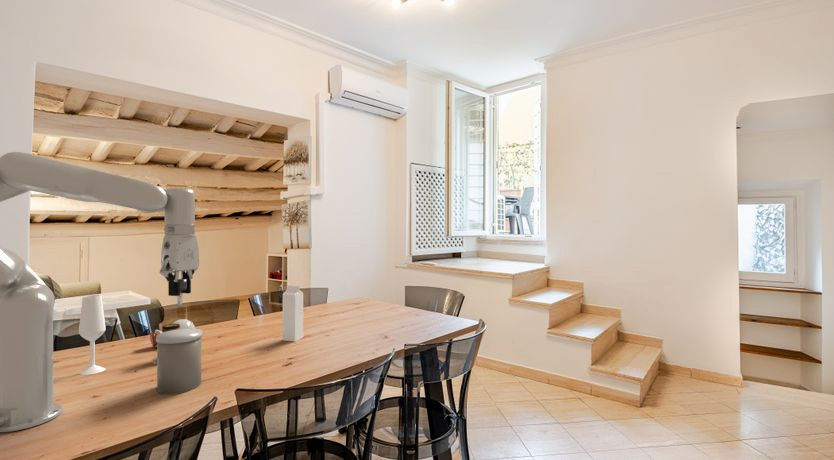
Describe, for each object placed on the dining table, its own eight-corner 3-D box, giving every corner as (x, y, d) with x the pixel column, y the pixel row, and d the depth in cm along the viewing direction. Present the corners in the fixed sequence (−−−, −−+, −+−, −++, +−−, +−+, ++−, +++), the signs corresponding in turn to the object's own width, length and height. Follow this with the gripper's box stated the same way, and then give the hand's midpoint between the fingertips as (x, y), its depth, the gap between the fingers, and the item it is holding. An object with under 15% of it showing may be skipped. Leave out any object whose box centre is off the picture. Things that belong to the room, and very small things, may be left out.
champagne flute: (102, 365, 132) (102, 293, 132) (108, 370, 128) (108, 295, 127) (76, 371, 127) (76, 296, 127) (81, 376, 122) (81, 298, 122)
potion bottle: (198, 344, 162) (155, 357, 151) (189, 326, 166) (147, 338, 156) (200, 328, 157) (157, 340, 146) (191, 311, 162) (149, 322, 151)
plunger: (180, 306, 114) (180, 280, 113) (169, 306, 114) (169, 280, 114) (189, 304, 117) (189, 278, 117) (178, 303, 118) (178, 278, 118)
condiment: (182, 360, 138) (182, 325, 138) (153, 364, 133) (153, 329, 133) (181, 354, 144) (181, 321, 144) (153, 358, 139) (153, 324, 139)
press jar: (183, 395, 109) (183, 340, 109) (145, 392, 111) (145, 338, 111) (213, 378, 122) (213, 328, 122) (179, 375, 124) (179, 326, 123)
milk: (290, 336, 168) (291, 284, 168) (303, 337, 167) (303, 285, 167) (282, 340, 163) (282, 286, 163) (295, 341, 161) (295, 287, 161)
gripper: (169, 231, 107) (169, 300, 107) (210, 230, 123) (210, 290, 123) (144, 231, 108) (144, 299, 108) (188, 230, 124) (188, 289, 124)
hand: (179, 293), depth 116 cm, fingers closed on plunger, 3 cm apart
